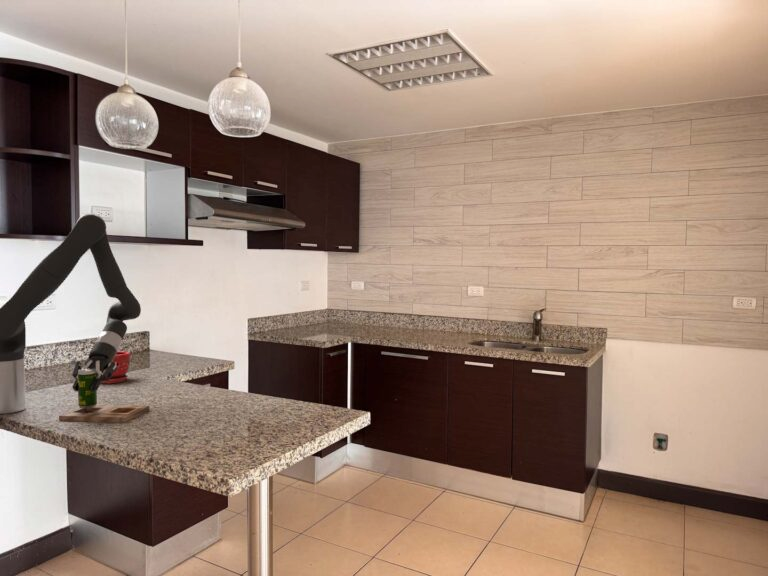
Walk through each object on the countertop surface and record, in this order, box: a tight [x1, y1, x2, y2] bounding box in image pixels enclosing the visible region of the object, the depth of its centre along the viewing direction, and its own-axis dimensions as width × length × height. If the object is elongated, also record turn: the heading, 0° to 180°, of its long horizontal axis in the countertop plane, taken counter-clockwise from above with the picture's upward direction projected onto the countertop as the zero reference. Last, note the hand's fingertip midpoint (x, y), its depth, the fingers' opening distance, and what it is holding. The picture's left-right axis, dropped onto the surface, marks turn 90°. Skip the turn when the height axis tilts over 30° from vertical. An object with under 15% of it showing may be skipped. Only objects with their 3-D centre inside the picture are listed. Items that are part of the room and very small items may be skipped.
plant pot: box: [101, 351, 131, 384], centre depth 229 cm, size 13×13×12 cm
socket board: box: [58, 403, 150, 423], centre depth 178 cm, size 22×14×2 cm, turn 83°
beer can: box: [77, 368, 98, 408], centre depth 179 cm, size 5×5×12 cm
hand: (83, 390), depth 177 cm, fingers closed on beer can, 5 cm apart
